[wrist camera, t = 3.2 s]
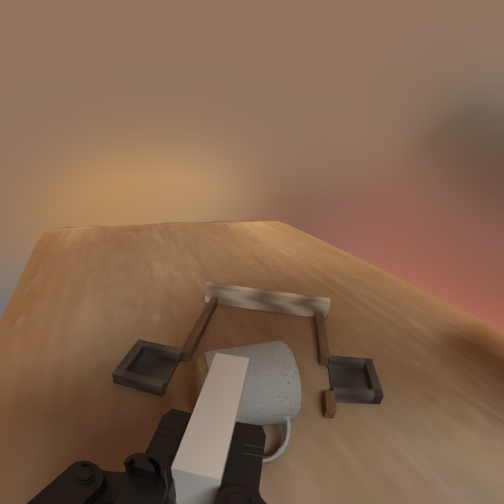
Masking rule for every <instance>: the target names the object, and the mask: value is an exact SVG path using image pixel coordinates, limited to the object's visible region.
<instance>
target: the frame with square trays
mask: <svg viewBox="0 0 504 504" xmlns="http://www.w3.org/2000/svg"><path fill="white" fill-rule="evenodd" d="M205 302H207V303H208V304H207V305H206V307H205V309H204V311H203V313H202V314H201V316H200V318H199V320H198V322H197V323H196V325H195V327H194V329H193V331H192V332H191V334H190V336H189V338H188V340H187V341H186V343H185V345H184V347H183V349H179V348H174V347H170V346H165V345H161V344H156V343H152V342H147V341H143V340H138V341H137V342H136V344H135V345H134V346H133V348H132V349H131V350H130V351H129V353H128V354H127V355H126V356H125V358H124V359H123V360H122V362H121V363H120V364H119V366H118V367H117V368H116V369H115V371H114V372H113V373H112V375H113V380H114V382H115V383H118V384H121V385H125V386H128V387H131V388H135V389H138V390H142V391H146V392H149V393H153V394H157V395H161V396H162V395H163V393H164V391H165V387H166V385H167V384H168V382H169V380H170V378H171V376H172V374H173V372H174V370H175V368H176V367H177V365H178V363H179V362H180V361H181V360H185V361H190V359H191V357H192V355H193V353H194V351H195V349H196V347H197V345H198V343H199V341H200V339H201V337H202V335H203V333H204V331H205V329H206V327H207V325H208V322H209V320H210V318H211V316H212V314H213V312H214V310H215V308H216V306H217V304H220V305H226V306H233V307H239V308H246V309H253V310H260V311H268V312H275V313H283V314H290V315H298V316H307V317H314V320H315V329H316V338H317V347H318V357H319V365H325V366H327V367H328V369H329V377H330V384H331V390H325V391H324V394H323V397H322V402H323V415H324V418H334V416H335V413H336V410H337V409H336V402H344V403H370V404H380V402H381V400H382V398H383V393H382V389H381V386H380V383H379V380H378V377H377V374H376V371H375V367H374V364H373V361H372V359H367V358H353V357H340V356H329V351H328V345H327V338H326V332H325V326H324V320H323V318H324V319H327V316H328V312H329V307H330V302H331V301H330V298H325V297H317V296H308V295H300V294H293V293H285V292H277V291H270V290H262V289H255V288H248V287H241V286H234V285H227V284H220V283H213V282H207V284H206V292H205Z"/></svg>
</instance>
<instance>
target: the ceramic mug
mask: <svg viewBox="0 0 504 504" xmlns="http://www.w3.org/2000/svg"><path fill="white" fill-rule="evenodd" d="M216 353H222V354H227V355H233V356H239V357H245V358H249V363H248V370H247V377H246V384H245V391H244V398H243V404H242V408H241V413H240V417H239V422H241V423H247V424H254V425H261V426H263V425H270V424H278V423H282V425H283V440H282V444H281V447H280V448H279V449H278V450H277V452H276V453H275V454H273V455H270V456H264V457H263V461H262V465H263V464H267V463H270V462H272V461H274V460H275V459H277V458H278V457H279V456H281V455H282V454H283V452H284V451H285V449H286V448H287V446H288V443H289V440H290V434H291V424H290V421H293V420H295V419H296V418H297V416H298V414H299V412H300V409H301V401H302V389H301V388H302V387H301V379H300V374H299V370H298V366H297V363H296V360H295V357H294V355H293V353H292V351H291V349H290V348H289V346H288V345H287V344H286V343H285V342H283V341H281V340H277V341H272V342H266V343H259V344H252V345H246V346H240V347H233V348H224V349H217V350H212V351H209V352H205V353H203V354H200V355H199V356H198V357H197V358H196V361H195V376H196V386H197V393H198V398H199V395H200V393H201V390H202V388H203V385H204V382H205V380H206V377H207V375H208V372H209V370H210V367H211V364H212V362H213V359H214V357H215V354H216Z"/></svg>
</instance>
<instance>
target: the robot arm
mask: <svg viewBox="0 0 504 504" xmlns="http://www.w3.org/2000/svg"><path fill="white" fill-rule="evenodd" d="M248 363H249V358H245V357H239V356H233V355H227V354H222V353H216V354H215V357H214V359H213V362H212V364H211V367H210V370H209V372H208V375H207V377H206V380H205V382H204V385H203V388H202V390H201V393H200V395H199V398H198V400H197V403H196V406H195V408H194V411H193V413H188V412H184V411H179V410H175V409H171V410H170V411H169V412H167V413H166V414H165V415H164V416H163V417H162V419H161V421H160V423H159V425H158V427H157V429H156V432H155V435H154V436H153V438H152V440H151V442H150V444H149V446H148V448H147V450H146V452H145V453H137V454H133V455H131V456H129V457H128V458H127V459H126V460H125V461H124V465H125V468H126V472H111V471H102V470H101V469H100V468H99V467H98V466H97V465H96V464H94V463H92V462H88V461H80V462H76V463H74V464H72V465H71V466H70V467H68V468H67V469H66V470H65V471H64V472H63V473H62V474H60V475H59V476H58V477H57V478H56V479H55V480H54V481H53V482H51V483H50V484H49V485H48V486H47V487H46V488H45V489H43V490H42V491H41V492H40V493H39V494H38V495H36V496H35V497H34V498H33V499H32V500H31V501H29V502H28V503H27V504H174V502H175V500H176V503H177V504H267V503H266V502H264V501H263V499H262V498H261V496H260V493H259V484H260V476H261V469H262V461H263V454H264V446H265V438H266V435H265V433H264V430H263V428H262V426H261V425H254V424H247V423H241V422H239V417H240V413H241V408H242V404H243V398H244V391H245V384H246V377H247V370H248Z"/></svg>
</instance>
